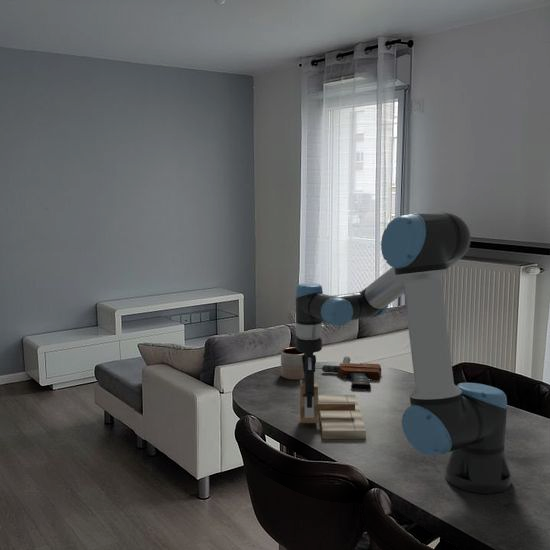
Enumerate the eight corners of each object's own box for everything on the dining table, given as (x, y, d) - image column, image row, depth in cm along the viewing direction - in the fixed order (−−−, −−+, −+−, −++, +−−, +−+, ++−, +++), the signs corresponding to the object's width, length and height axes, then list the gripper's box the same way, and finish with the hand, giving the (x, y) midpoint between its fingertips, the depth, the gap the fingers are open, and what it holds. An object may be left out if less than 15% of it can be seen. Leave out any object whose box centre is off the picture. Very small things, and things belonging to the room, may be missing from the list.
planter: (278, 379, 233) (278, 354, 232) (283, 371, 244) (283, 346, 242) (308, 381, 232) (308, 355, 230) (311, 372, 242) (311, 347, 241)
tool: (379, 383, 220) (382, 355, 249) (301, 379, 225) (312, 352, 254) (379, 394, 221) (381, 365, 249) (301, 390, 226) (312, 362, 254)
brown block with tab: (355, 423, 188) (356, 386, 186) (300, 422, 188) (300, 386, 186) (353, 415, 194) (353, 380, 192) (300, 415, 194) (300, 380, 192)
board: (365, 439, 180) (366, 430, 180) (322, 438, 180) (322, 430, 180) (355, 402, 210) (355, 394, 209) (318, 402, 210) (318, 394, 209)
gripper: (323, 345, 178) (323, 425, 181) (320, 329, 196) (319, 401, 200) (296, 345, 178) (296, 425, 181) (295, 329, 197) (295, 401, 200)
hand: (308, 412), depth 191 cm, fingers closed on brown block with tab, 6 cm apart
